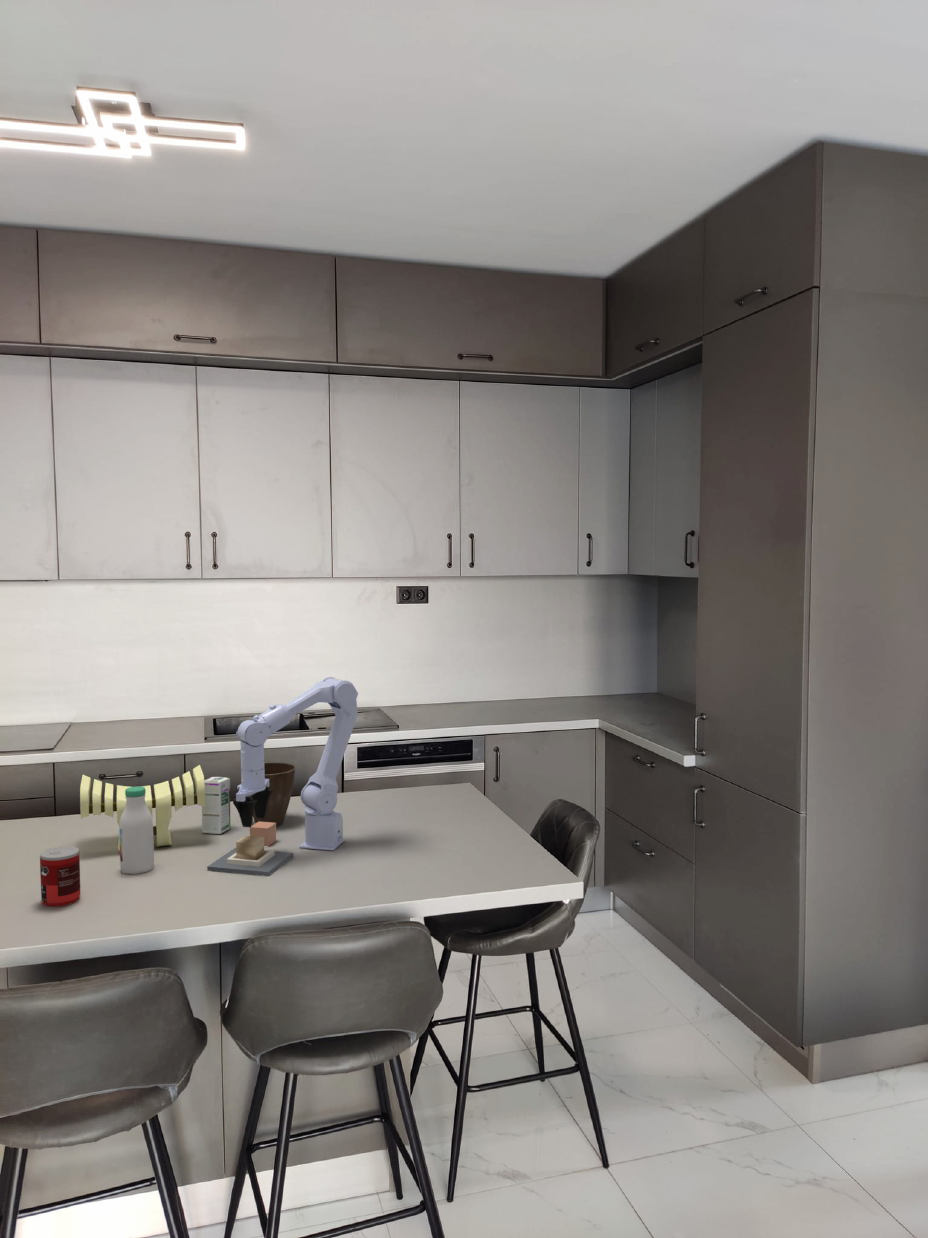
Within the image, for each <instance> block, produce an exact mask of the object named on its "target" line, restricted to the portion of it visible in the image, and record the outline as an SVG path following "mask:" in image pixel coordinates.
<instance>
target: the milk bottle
mask: <svg viewBox="0 0 928 1238" xmlns="http://www.w3.org/2000/svg"><path fill="white" fill-rule="evenodd" d="M141 786H142V785H141ZM141 786H129V787H130V788H127V789H126V790H125V795H126V797H125V798H126V800H127V801H126V806H125V809H124V811H123V813H122V816H121V819H120V827H119V830H118V832H119V833H118V836H119V835H120V851H119V865H120V871H121V873H123V874H125V875H126V874H127V875H135V874H136V875H138V874H144V873H146V872H150V871H151V870H153V869H154V867H155V846H154V845H155V844H154V843H155V841H154V839H155V838H154V836H153V826H154V822H153V821H154V820H152V819H153V815H152V816H151V813H150V811H149V809H148V807H147V805H146V802H145V796H146V795H145V793H146V790H145V787H141Z"/></svg>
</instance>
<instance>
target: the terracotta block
mask: <svg viewBox="0 0 928 1238" xmlns="http://www.w3.org/2000/svg"><path fill="white" fill-rule="evenodd" d="M249 828H250V829H249V836H255V837H264V846H268V847H270V846H271V845H273V844H274V843H275V842H277V826H276V823H272V822H257V823H256V822H255V823H254V824H252V826H251V827H249ZM272 843H273V844H272ZM270 844H271V845H270Z"/></svg>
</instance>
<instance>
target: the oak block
mask: <svg viewBox="0 0 928 1238" xmlns="http://www.w3.org/2000/svg"><path fill="white" fill-rule="evenodd" d="M235 848H236V858H237V859H249V860H258V859H260V858H261V857H262V856H264V850H265V847H264V837H255V836H250V835H245V836H243V837H241V838H240V839H238V840H237V841H236V842H235Z"/></svg>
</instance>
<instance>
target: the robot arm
mask: <svg viewBox="0 0 928 1238" xmlns="http://www.w3.org/2000/svg"><path fill="white" fill-rule="evenodd" d="M358 695H359V692H358V691H357V689H356V687H355V685H354V684H353V683H352V682H351V681H349V680H342V679H338V678H336V677H332V676H329V677H326V678H324V679H322V680H320V681H318V682H316V683H315V684H314V685H313V686H312V687H310V688H308V689H307V690H306V691H304V692H303V693H300V695H298V696H296V697H295V698H294V699H292V700H291V701H289V702H288V703H286V704H285V705H283V704H280V703H278V704H271V705H269V706H268V708H269V709H268V710H267V709H266V711H264V712H262V713H260V714H259V715H257V714H256V715H254V716H253V719H246V720H244V721H242V722H241V723H240V724H239V726H238V729H237V731H236V732H235V734H236V738H237V740H239V741H240V780H241V783H240V784H238V785H236V786H237V788H236V789H237V790H238V792H237V793H235V798H234V799H232V804H233V806H234V807H235V809H236V811H237V813H238V815H239V818H240V822H241V826H242V827H243V828H250V827H251V826H253V820H254V818H253V811H254V807H255V814H256V818H265V815H266V810H267V806H268V802H269V799H270V796H271V794H272V793H273V789H272V788H267V787H269V779H265V768H264V763H265V743H266V742H267V740H268V737H269V736H271V735H273V734H274V733H275V732H277V731H280V730H281V729H283V728H284V727H285V726H288V725H289V724H290V723H291V720H292V717H294V716H296V715H297V714H299V713H301V712H303V711H305V710H307V709H309V708H310V707H313V706H314V705H315V704H316V705H317V704H318V703H327V704H328V705H329V706H330V707H331V709H332V711H333V713H334V716H335V717H334V720H333V723H332V726H331V728H330V730H329V731H330V732H329V735H328V736H327V740H326V743H325V746H324V750H323V752H322V755H321V757H320V760H319V763H318V766H317V769H316V772H315V773H314V774H312V775H311V776H310V777H309V778H308V782H307V783H306V785H304V787H303V788H302V789H301V791H300V801H301V802H302V804H303V805H304V808H305V809H304V829H305V830H304V833H305V836H304V838H305V839H304V842H302V843H301V844H300V845H299V848H300V849H308V850H309V849H312V850H321V851H322V850H324V851H335V850H336V849H337V848H338V847H339V846H340V845H341V844H342V843H344V842H345V840H344V829H343V827H344V822H343V821H344V820H343V815H342V813H340V812H337V811H334V810H335V808H336V806H337V804H338V796H337V795H338V791H339V786H338V781H337V777H338V773H339V771H340V768H341V765H342V762H343V759H344V756H345V754H346V750H347V747H348V743H349V742H350V738H351V735H352V733H353V729H354V727H355V724H356V721H357V719H358V715H359V714H358V705H357V701H358V700H357V698H358ZM251 795H252V798H253V800H251V798H250V799H249V797H250V796H251Z"/></svg>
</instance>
